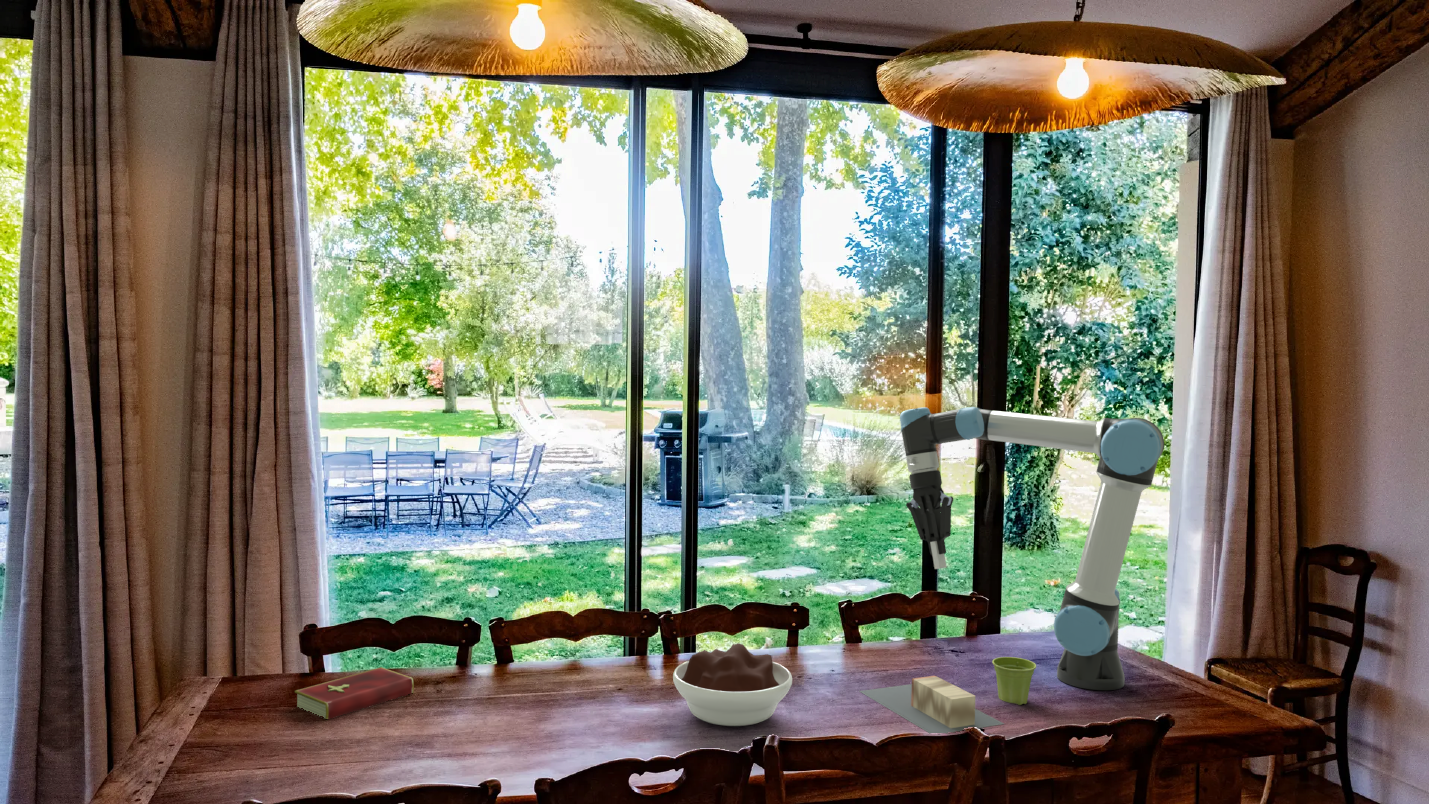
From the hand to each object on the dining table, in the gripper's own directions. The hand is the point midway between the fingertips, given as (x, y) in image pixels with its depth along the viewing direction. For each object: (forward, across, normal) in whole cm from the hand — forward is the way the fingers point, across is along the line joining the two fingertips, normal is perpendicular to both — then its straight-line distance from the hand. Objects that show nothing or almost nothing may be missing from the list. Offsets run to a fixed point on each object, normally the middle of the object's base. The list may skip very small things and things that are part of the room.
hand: (940, 568), depth 235 cm
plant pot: (+31, +15, -2) cm, 34 cm away
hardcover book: (+9, -69, -118) cm, 137 cm away
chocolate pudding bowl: (+23, -14, -59) cm, 65 cm away
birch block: (+24, +6, -22) cm, 33 cm away
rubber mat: (+28, +8, -22) cm, 36 cm away
